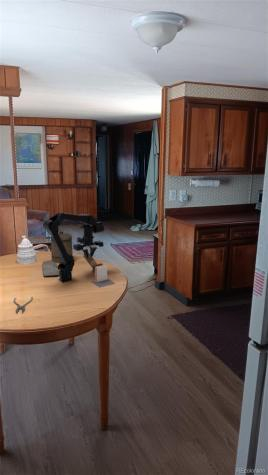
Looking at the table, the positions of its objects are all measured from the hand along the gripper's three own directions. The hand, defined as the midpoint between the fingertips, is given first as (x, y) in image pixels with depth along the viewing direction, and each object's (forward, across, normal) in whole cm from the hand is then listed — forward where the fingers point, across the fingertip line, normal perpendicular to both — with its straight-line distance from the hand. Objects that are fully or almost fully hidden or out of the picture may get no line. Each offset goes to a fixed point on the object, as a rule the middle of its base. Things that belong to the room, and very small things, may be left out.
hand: (88, 258), depth 217 cm
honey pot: (+10, +23, -50) cm, 56 cm away
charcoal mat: (+10, +1, +18) cm, 21 cm away
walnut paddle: (+2, 0, +2) cm, 3 cm away
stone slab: (+11, +17, -22) cm, 30 cm away
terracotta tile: (+10, 0, +15) cm, 18 cm away
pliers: (+11, +49, +22) cm, 54 cm away
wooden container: (+10, +1, -38) cm, 40 cm away
